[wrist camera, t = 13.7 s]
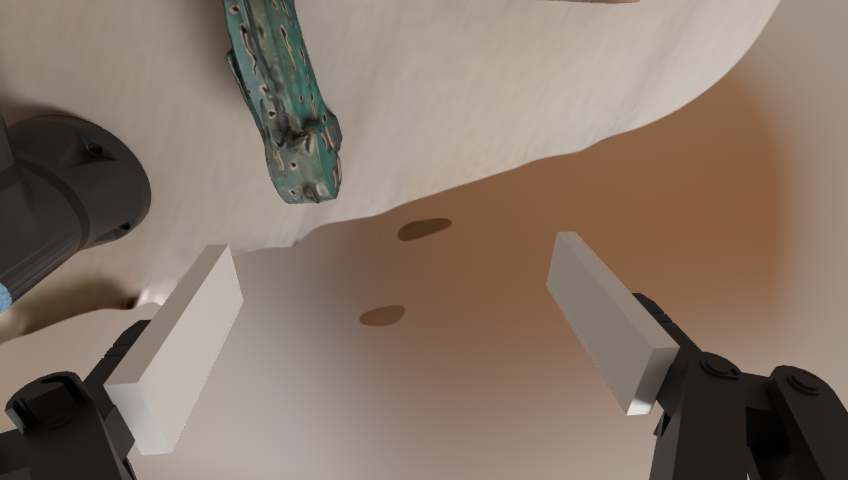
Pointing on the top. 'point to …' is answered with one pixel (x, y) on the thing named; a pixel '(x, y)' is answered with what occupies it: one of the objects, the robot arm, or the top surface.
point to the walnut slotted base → (602, 1)
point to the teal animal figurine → (284, 99)
